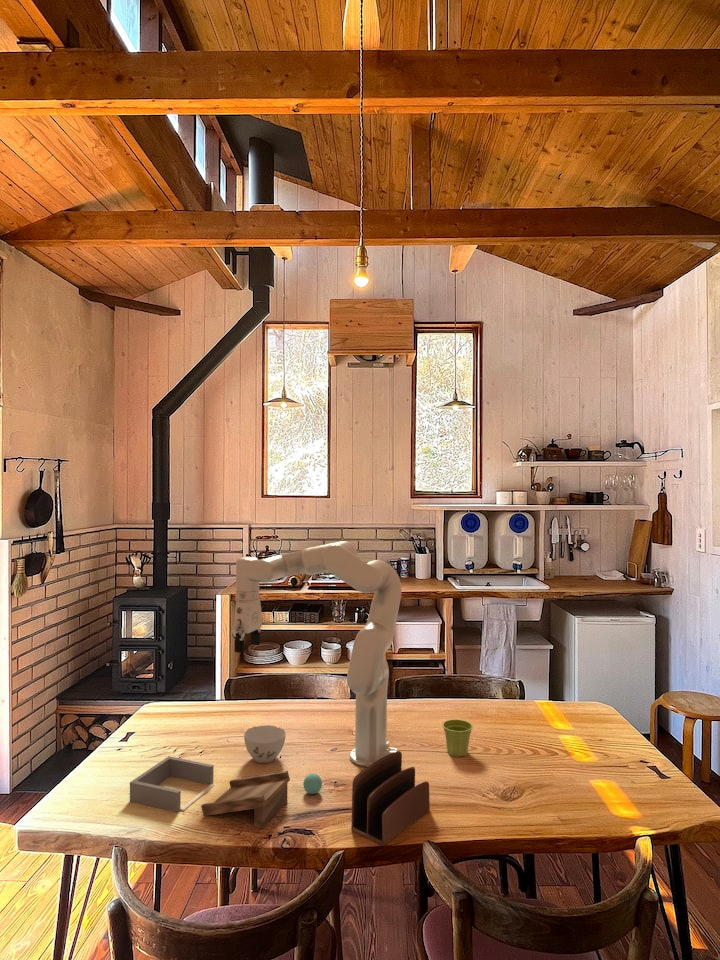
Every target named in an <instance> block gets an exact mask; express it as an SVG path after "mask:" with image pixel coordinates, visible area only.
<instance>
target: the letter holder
mask: <svg viewBox="0 0 720 960" xmlns="http://www.w3.org/2000/svg"><path fill="white" fill-rule="evenodd" d="M402 759H403V754H402V751H399V750H398V751H397V752H394V753H391V754H389V755H387V756H385V757H383V758H381V759H379V760H377V761H376V762H374V763H373V764H371V765H370V766H368V767H365V768H364V769H362V770H361V771H360V772H358V773H357V774H356V775H355V777H354V778H353V780H352V785H351V786H352V788H351V789H352V790H351V826H350V827H351V828H350V829H351V831H352V832H353V833H355V834H358V835H360V836H361V837H364V838H366V839H368V840H369V839H370V841H371V840H372V841H371V842H374V843H376V844H377V845H380V846H381V847H385V846H386V845H387V844H388V843H389V842H391V841H392V840H394V839H395V838H396V837H397V836H398V834H399V833H400V832H401V833H402V831H403V830H404V829H405V828H407V827H408V826H409V827H411V826H412V825H413V824H414V823H416V822H417V821H418V820H419V818H420V819H421V818H423V817H424V816H425V815H426V814H427V813H429V812H430V810H431V809H430V783H429V782H428V781H423V782H421V783H419V784H417V785H416V768H415V766H411V767H408V768H405V769H403V770H402V766H403V765H402V762H403V760H402ZM415 821H416V822H415ZM411 824H412V825H411ZM410 825H411V826H410ZM409 827H408V828H409ZM408 828H407V829H408ZM405 830H406V829H405ZM405 830H404V831H405ZM404 831H403V832H404ZM401 833H400V834H401ZM400 834H399V835H400ZM394 837H395V838H394ZM390 840H391V841H390Z"/></svg>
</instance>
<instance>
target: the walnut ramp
mask: <svg viewBox="0 0 720 960" xmlns="http://www.w3.org/2000/svg"><path fill="white" fill-rule="evenodd" d="M289 774H290V773H289V771H288V770H284V771H278V772H272V773H267V774H260V775H254V776H253V775H252V776H249V777H243V778H237V779H231V780H230V781H229V782H228V783H229V786H230V787H229V788H228V789H227V790H225V791H224V793H223V794H221V796H219V797H218V798H217V799H216V800H214V802H208V803H203V804H202V805H200V808H201V811H202V815H203V817H206V816H212V815H219V814H220V815H221V814H226V813H227V814H228V813H233V812H239V811H246V810H253V809H254V810H253V811H254V812H253V813H254V814H253V815H254V816H253V817H254V818H253V819H254V821H253V825H254V826H253V827H255V828H258V829H264V828H265V827H266V826H267V825H268V824H269V823H270V821H271V820H273V818H274V817H275V816H276V815H277V814H278V813H279V812H280V810H281V809H282V808H283V807H284V806H285V805H286V804H287V803H288V789H289V788H288V786H289V785H288V783H289V782H290V781H291V778H290V775H289Z"/></svg>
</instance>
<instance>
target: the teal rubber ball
mask: <svg viewBox="0 0 720 960" xmlns="http://www.w3.org/2000/svg"><path fill="white" fill-rule="evenodd" d="M322 786H323V781H322V778H321V777H320V775H318V773H309V774H307V776H305V778H304V780H303V789H304V791H305V792H306V793H308V794H310V795H315V794H317V793H319V792H320V791H321V789H322Z"/></svg>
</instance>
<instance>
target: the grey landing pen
mask: <svg viewBox="0 0 720 960" xmlns="http://www.w3.org/2000/svg"><path fill="white" fill-rule="evenodd" d="M169 777H172V778H175V779H181V780H185V781H191V782H195V783H199V784H205V785H208V786H206V787H205V788H204V789H203V790H202V791H201V792H199V793H198V794H197V795H195V797H193V798H192V799H190V801H188V802H186V803H185V805H183V807H181V805H182V804H181V798H182V797H181V792H182V791H181V790H180V789H175V788H169V787H166V786H161V785H159V784H161V783H163V782H164V781H165V780H166V779H168V778H169ZM213 787H215V784H214V764H209V763H205V762H201V761H194V760H191V759H186V758H185V759H184V758H179V757H174V756H167V757H166V758H164V759H162V760H161V761H160V762H157V763H156V764H155V765H154V766H152V767H151V768H150V767H149V769H147V770H146V771H145V772H143V773H141V774H140V775H139V776H137V777H135V778H134V779H133V780H131V781H130V782H129V802H131V803H135V804H139V805H143V806H147V807H148V806H149V807H152V808H156V809H157V808H158V809H160V810H166V811H170V812H174V813H179V812H180V811H183V812H184V811H185V810H187V809H188V808H189V807H190V806H191V805H193V804H194V803H195V802H196V801H198V800H199V799H200V798H201V797H202V796H203V795H205V794H206V793H207V792H208V791H209V790H211V789H212V788H213Z"/></svg>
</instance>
